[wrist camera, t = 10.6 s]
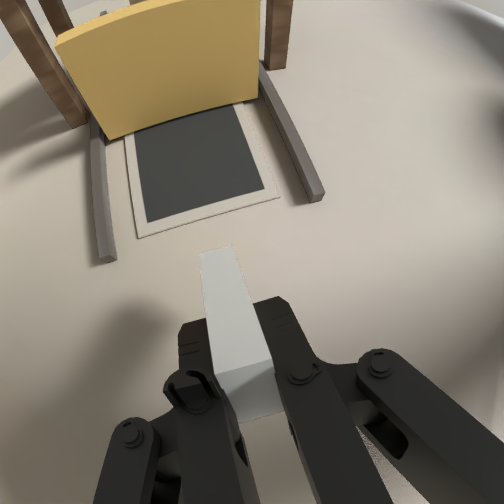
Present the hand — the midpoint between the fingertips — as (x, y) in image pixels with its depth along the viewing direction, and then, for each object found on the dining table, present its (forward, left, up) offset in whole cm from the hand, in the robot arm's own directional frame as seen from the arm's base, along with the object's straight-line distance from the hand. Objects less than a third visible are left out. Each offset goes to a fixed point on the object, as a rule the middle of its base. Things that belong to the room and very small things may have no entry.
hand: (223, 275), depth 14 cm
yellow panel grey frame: (0, -22, -5) cm, 22 cm away
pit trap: (0, -11, -5) cm, 12 cm away
